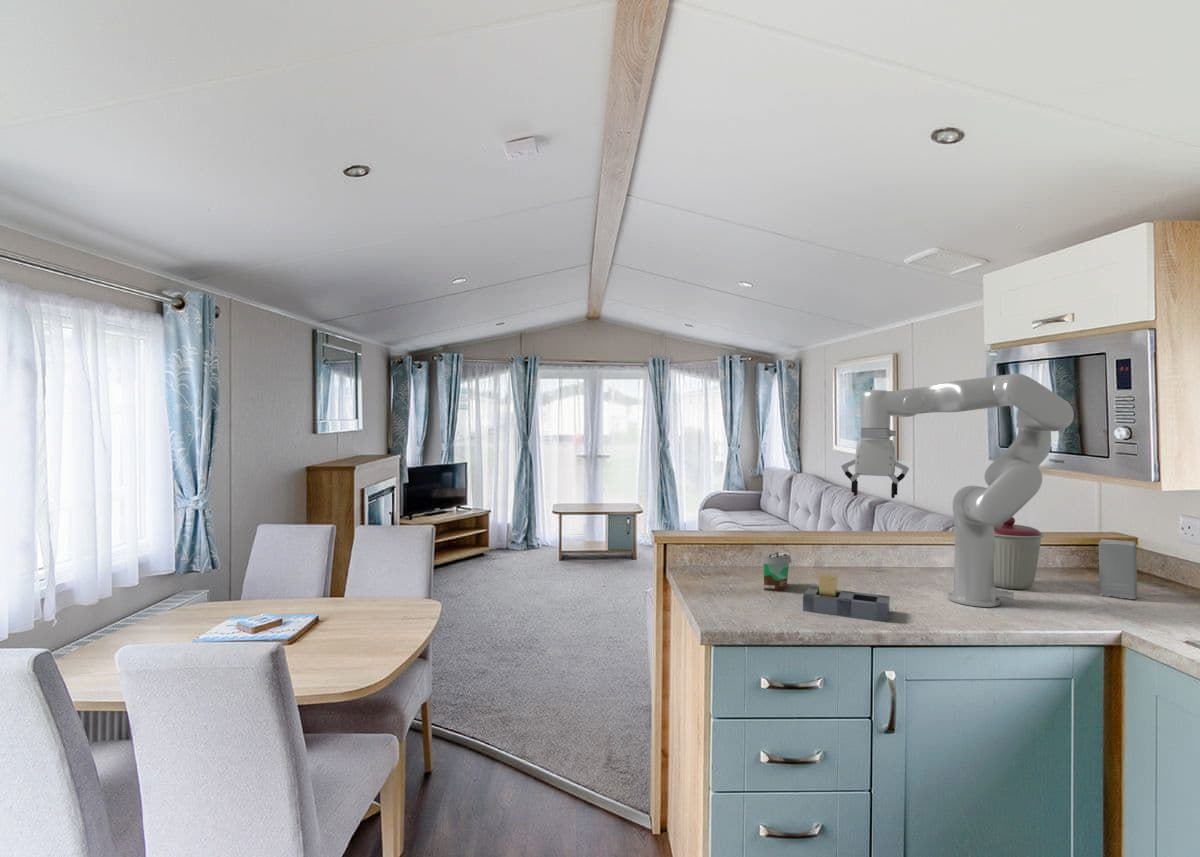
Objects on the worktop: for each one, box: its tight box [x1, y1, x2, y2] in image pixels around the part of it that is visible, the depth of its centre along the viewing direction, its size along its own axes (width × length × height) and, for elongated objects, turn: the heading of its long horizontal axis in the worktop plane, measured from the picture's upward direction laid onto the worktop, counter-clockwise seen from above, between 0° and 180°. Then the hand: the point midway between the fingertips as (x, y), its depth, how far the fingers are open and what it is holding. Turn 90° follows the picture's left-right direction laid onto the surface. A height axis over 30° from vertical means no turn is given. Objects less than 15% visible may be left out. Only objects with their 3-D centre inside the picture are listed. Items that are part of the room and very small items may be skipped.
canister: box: [993, 516, 1045, 590], centre depth 199 cm, size 18×18×21 cm
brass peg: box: [818, 571, 838, 597], centre depth 173 cm, size 4×4×9 cm
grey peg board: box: [802, 586, 891, 623], centre depth 171 cm, size 20×10×4 cm, turn 63°
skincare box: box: [1098, 538, 1138, 600], centre depth 188 cm, size 8×7×16 cm
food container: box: [762, 549, 792, 592], centre depth 193 cm, size 12×6×10 cm, turn 148°
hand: (874, 496), depth 183 cm, fingers open, 9 cm apart
